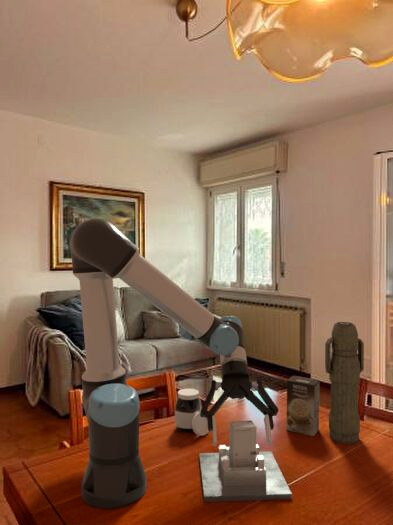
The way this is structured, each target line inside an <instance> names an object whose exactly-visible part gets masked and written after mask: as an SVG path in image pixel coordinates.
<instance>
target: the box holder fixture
mask: <svg viewBox="0 0 393 525" xmlns="http://www.w3.org/2000/svg"><path fill="white" fill-rule="evenodd" d="M198 454H199V455H198V457H199V458H198V460H199V467H200V474H201V475H200V476H201V486H202V495H203V501H204V502H205V503H208V502H209V503H212V502H238V501H239V502H240V501H241V502H243V501H244V502H245V501H270V500H271V501H272V500H273V501H274V500H292V499H293V495H292V494H293V493H292V490H290V487H289V486H288V483H287V481H286V479H285V477H284V475H283V473H282V471H281V469H280V467H279V464H278V462H277V461H276V458H275V457H274V454H273V451H260V446H259V444H258V443H256V467H234V468H230V467H229V446H226V444H219V446H218V452H202V453H201V452H200V453H198Z"/></svg>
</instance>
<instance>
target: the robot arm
mask: <svg viewBox="0 0 393 525" xmlns="http://www.w3.org/2000/svg"><path fill="white" fill-rule="evenodd" d="M68 239H69V240H68V248H69V251H70V255H71V266H72V267H71V268H72V275H73V276H75V278H77V279H78V280H79V290H80V292H79V293H80V301H81V302H80V303H81V312H82V313H81V314H82V316H81V317H82V326H83V336H84V339H83V340H84V348H85V350H84V351H85V361H86V370H85V371H84V372H83V374H81V385H82V387H81V388H82V396H81V403H82V407H83V409H84V412H85V417H86V420H87V425H88V462H87V465H86V469H85V471H84V474H83V477H82V481H81V487H80V488H81V489H80V490H81V498H82V500H83V501H84V502H85V503H86V504H88V505H90V506H92V507H95V508H100V509H117V508H120V507H125V506H128V505H131V504H133V503H135V502H136V501H138V500H139V499H140V498H141V497H143V496H144V494H145V493H146V491H147V474H146V471H145V469H144V466H143V463H142V460H141V457H140V456H141V455H140V408H141V407H140V406H141V405H140V399H139V393H138V392H137V391H136V389H135V388H133V387H132V386H130V385H128V382H127V371H126V368H124V367H123V366H122V365H121V364H120V355H119V354H120V353H119V352H120V351H119V340H118V330H117V327H118V326H117V319H116V318H117V314H116V304H115V292H114V290H115V288H114V279H115V280H116V279H119V280H120V281H122V282H123V283H124V284H126V285H127V286H128V287H130V288H131V289H133V290H134V291H135V292H136V293H138V294H139V295H140V296H142V297H143V298H144V299H146V301H148V302H149V303H150V304H152V305H153V306H154V307H155V308H157V309H158V310H160V311H161V312H162V313H163V314H165V315H166V316H167V317H168V318H169V319H171V320H172V321H174V323H176V324H177V325H178V326H180V328H179V335H180V336H181V338H182V339H184V340H188V341H189V342H191V341H192V342H195V343H198V344H199V345H201V346H202V347H205V348H206V349H209V350H210V351H212V352H213V353H214V354H216V355H219V356H220V359H219V360H220V366H221V367H220V372H221V382H220V381H216V380H215V379H212V380H211V382H210V389H209V391H208V393H207V395H206V397H205V400H204V402H203V404H202V405H201V411H200V416H201V417H205V418H207V421H208V432H212V446H213V447H217V445H218V437H217V434H218V433H217V420H216V415H215V414H217V412H218V411H219V409H220V408H221V407H222V406H223V405H224V403H225V402H226V401H227V400H228V399H231V400H235V399H239V400H243V399H246V401H249V402H250V403H251V404H252V405H253V406H254V407H255V408H256V409H257V410H259V412H260V413H262V415H263V416H264V417H263V422H264V430H265V437H266V442H267V446H271V445H272V443H273V436H272V431H273V430H274V426H275V423H274V418H273V417H276V416H278V413H279V408H278V406H277V404H275V402H274V400H273V399H272V398H271V396H270V395H269V393H268V392H267V390H266V389H265V387H264V385H263V382H262V380H261V379H257V380H256V381H251V379H250V374H249V368H248V366H249V365H248V360H247V353H246V345H245V344H246V343H245V338H244V337H245V336H244V329H243V324H242V322H241V320H240V319H239V318H238V317H237V316H234V315H229V316H228V315H225V316H224V315H223V316H222V317H221V318H219V317H217V316H215V315H214V314H213V313H212V312H210V310H208V309H207V308H206V307H205V306H204V305H202V304H201V303H200V302H198V301H197V299H195V298H194V297H192V296H191V295H190V294H189V293H188V292H186V291H185V290H184V289H183V288H181V287H180V286H179V285H178V284H176V283H175V282H174V280H172V279H171V278H169V277H168V276H167V275H166V274H165V273H163V272H162V271H161V270H159V269H158V268H157V267H156V266H155V265H153V264H152V263H151V262H150V261H149V260H147V259H146V258H145V257H144V256H143V255H141V253H140V248H139V247H138V246H137V245H136V244H135V243H133V242H132V241H131V240H130V239H129V238H128V237H127V236H126V235H125V233H122V231H120V229H119V228H117V227H116V226H115V224H113V223H111V222H110V221H107V220H105V219H102V218H90V219H87V220H85V221H83V222H81V223H80V224H79V225H78V226H76V227H75V228H74V229H73V231H72V232H71V234H70V237H69V238H68ZM252 388H253V389H254V390H255V391H257V394H258V395H259V396H260V398H261V399H260V398H258V396H257V395H256V394H255V393H254V392H253V390H252ZM219 389H221V390H222V391H223V392H222V394H221V395H220V397H218V399H217V400H216V402H215V403H214V404H213V405H211V403H212V400H213V398H214V396H215V393H216V391H219ZM210 405H211V408H209V407H210ZM208 409H209V410H208Z"/></svg>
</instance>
